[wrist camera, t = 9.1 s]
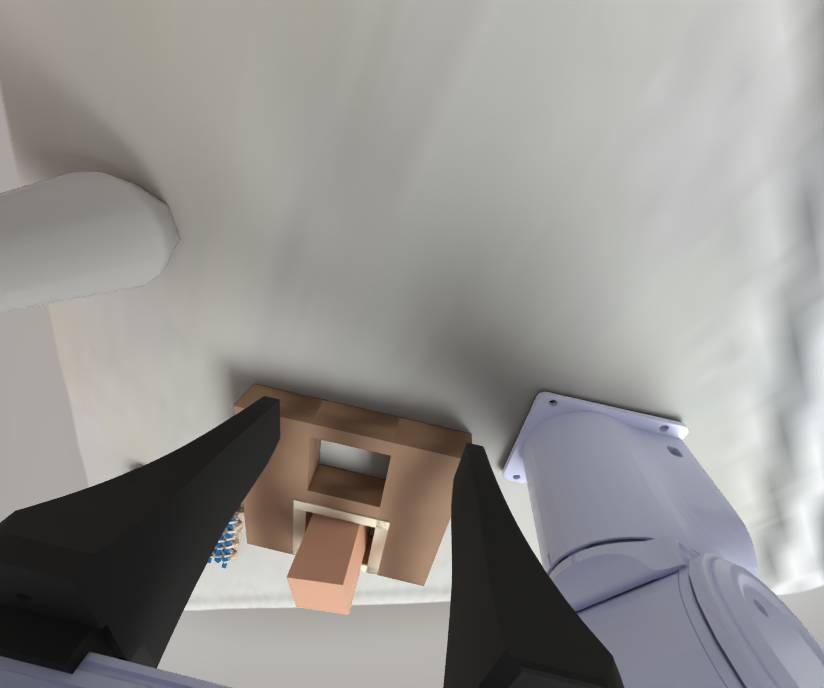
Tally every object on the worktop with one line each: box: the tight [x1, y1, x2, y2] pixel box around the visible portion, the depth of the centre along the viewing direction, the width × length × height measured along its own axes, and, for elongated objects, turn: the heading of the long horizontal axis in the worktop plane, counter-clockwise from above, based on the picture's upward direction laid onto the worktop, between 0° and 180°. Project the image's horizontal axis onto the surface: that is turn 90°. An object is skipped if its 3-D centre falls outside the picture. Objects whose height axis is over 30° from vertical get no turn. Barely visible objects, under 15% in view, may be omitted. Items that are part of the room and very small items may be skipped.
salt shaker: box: [0, 171, 180, 313], centre depth 15 cm, size 6×6×13 cm
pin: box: [287, 513, 371, 615], centre depth 28 cm, size 4×4×7 cm
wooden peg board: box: [234, 384, 472, 586], centre depth 28 cm, size 16×16×3 cm
